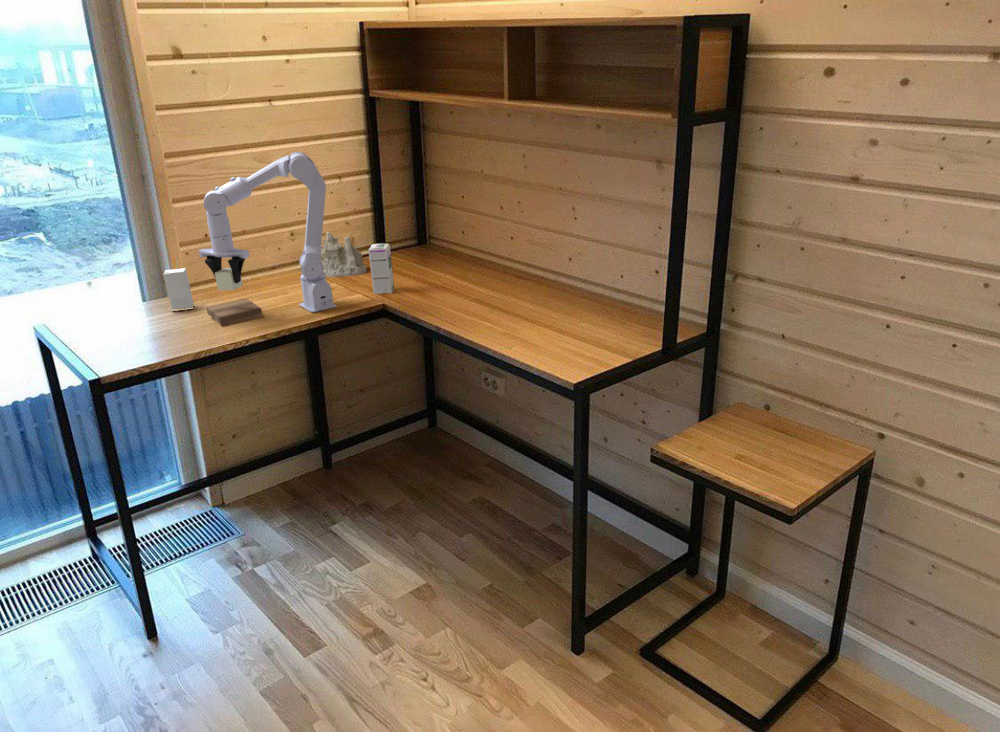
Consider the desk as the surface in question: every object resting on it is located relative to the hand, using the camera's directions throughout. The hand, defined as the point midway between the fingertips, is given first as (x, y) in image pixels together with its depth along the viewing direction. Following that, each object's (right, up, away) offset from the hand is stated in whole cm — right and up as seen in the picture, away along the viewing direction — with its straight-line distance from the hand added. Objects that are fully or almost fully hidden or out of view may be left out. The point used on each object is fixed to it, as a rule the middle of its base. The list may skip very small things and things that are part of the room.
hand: (228, 282), depth 227 cm
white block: (0, -2, +1) cm, 2 cm away
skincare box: (-18, -7, +12) cm, 22 cm away
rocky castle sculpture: (+24, +8, +45) cm, 51 cm away
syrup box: (+41, -1, +21) cm, 46 cm away
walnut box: (0, -10, +4) cm, 11 cm away
